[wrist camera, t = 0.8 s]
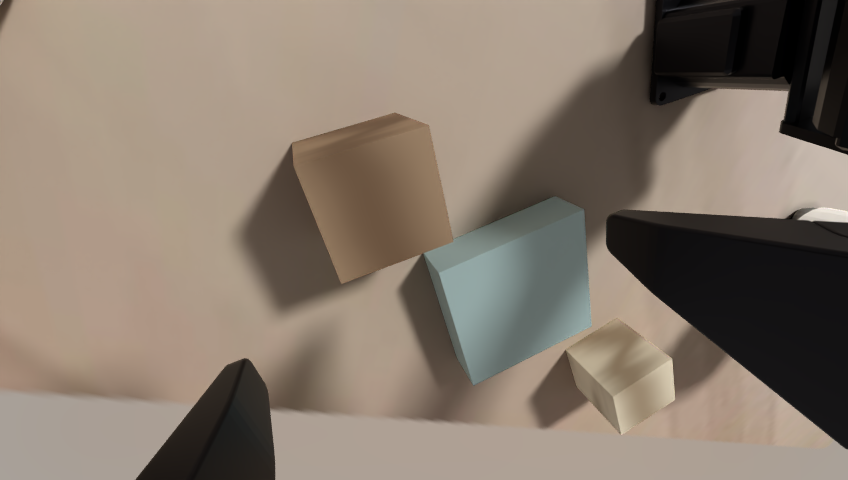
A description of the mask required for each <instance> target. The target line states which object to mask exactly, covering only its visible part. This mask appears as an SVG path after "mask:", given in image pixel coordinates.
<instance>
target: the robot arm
mask: <svg viewBox="0 0 848 480" xmlns="http://www.w3.org/2000/svg"><path fill="white" fill-rule="evenodd" d="M711 88H720V89H748V90H776V91H789V92H788V98H787V104H786V110H785V116H784V120H782V121H781V125H780V131H779V132H780V133H782V134H785V135H788V136H791V137H794V138H797V139H800V140H803V141H806V142H810V143H813V144H816V145H819V146H822V147H826V148H829V149H832V150H835V151H838V152H841V153H844V154H847V155H848V0H657V1H656V16H655V31H654V46H653V61H652V76H651V91H650V102H651V104H653V105H664V104H667V103H670V102H673V101H676V100H679V99H682V98H685V97H688V96H691V95H694V94H697V93H700V92H703V91H706V90H708V89H711ZM659 96H660V98H659ZM606 245H607V248H608V250H609V251H610V253H611V254H612V255H613V256H614V257H615V258H616V259H617V260H618V261H619V262H620V263H622V264H623V265H624V266H625V267H626V268H627V269H628V270H629V271H630V272H631V273H632V274H633V275H634V276H635V277H636V278H637V279H638V280H639V281H640V282H641V283H642V284H643V285H644V286H645V287H646V288H647V289H648V290H649V291H651V292H652V293H653V294H654V295H655V296H656V297H658V298H659V299H660V300H661V301H662V302H664V303H665V304H666V305H667V306H669V307H670V308H671V309H672V310H674V311H675V312H676V313H677V314H679V315H680V316H681V317H682V318H684V319H685V320H686V321H687V322H688V323H690V324H691V325H692V326H693V327H695V328H696V329H697V330H698V331H700V332H701V333H702V334H703V335H705V336H706V337H707V338H708V339H710V340H711V341H712V342H713V343H715V344H716V345H717V346H718V347H720V348H721V349H722V350H723V351H725V352H726V353H727V354H728V355H729V356H731V357H732V358H733V359H734V360H736V361H737V362H738V363H739V364H741V365H742V366H743V367H744V368H746V369H747V370H748V371H749V372H751V373H752V374H753V375H754V376H756V377H757V378H758V379H759V380H761V381H762V382H763V383H764V384H766V385H767V386H768V387H769V388H771V389H772V390H773V391H774V392H775V393H777V394H778V395H779V396H780V397H782V398H783V399H784V400H785V401H787V402H788V403H789V404H790V405H792V406H793V407H794V408H795V409H797V410H798V411H799V412H800V413H802V414H803V415H804V416H805V417H807V418H808V419H809V420H810V421H812V422H813V423H814V424H815V425H816V426H818V427H819V428H820V429H821V430H823V431H824V432H825V433H826V434H828V435H829V436H830V437H831V438H833V439H834V440H835V441H837V442H838V443H839V444H840V445H841V446H843V447H844V448H845V449H848V222H830V221H812V222H811V221H809V220H794V219H777V218H760V217H743V216H726V215H708V214H691V213H674V212H657V211H640V210H621V211H618V212H616V213H613V214H611V215H609V216H608V218H607V221H606ZM136 480H275V456H274V445H273V435H272V425H271V415H270V406H269V396H268V390H267V387H266V385H265V383H264V381H263V380H262V378H261V376H260V375H259V373H258V372H257V370H256V369H255V367H254V365H253V364H252V362H251V361H250V360H249V359H246V358H244V359H241V360H239V361H236V362H233V363H231V364H228V365H227V366H226V367H225V368H224V369H223V370H222V371H221V373H220V374H219V375H218V376H217V378H216V379H215V380H214V381H213V383H212V384H211V385H210V386H209V388H208V389H207V390H206V392H205V393H204V394H203V395H202V397H201V398H200V399H199V400H198V402H197V403H196V404H195V405H194V407H193V408H192V409H191V411H190V412H189V413H188V414H187V415H186V417H185V418H184V419H183V421H182V422H181V423H180V424H179V426H178V427H177V428H176V430H175V431H174V432H173V433H172V435H171V436H170V437H169V438H168V440H167V441H166V442H165V443H164V445H163V446H162V447H161V448H160V450H159V451H158V452H157V454H156V455H155V456H154V457H153V458H152V460H151V461H150V462H149V464H148V465H147V466H146V467H145V468H144V470H143V471H142V472H141V473H140V475H139V476H138V477H137V478H136Z"/></svg>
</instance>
